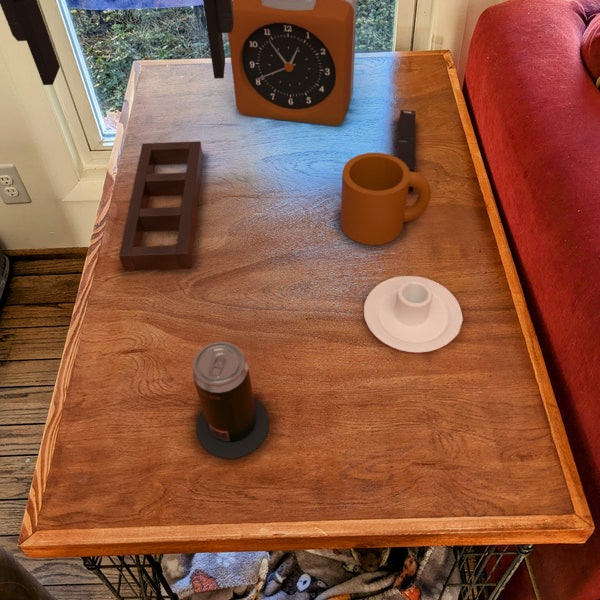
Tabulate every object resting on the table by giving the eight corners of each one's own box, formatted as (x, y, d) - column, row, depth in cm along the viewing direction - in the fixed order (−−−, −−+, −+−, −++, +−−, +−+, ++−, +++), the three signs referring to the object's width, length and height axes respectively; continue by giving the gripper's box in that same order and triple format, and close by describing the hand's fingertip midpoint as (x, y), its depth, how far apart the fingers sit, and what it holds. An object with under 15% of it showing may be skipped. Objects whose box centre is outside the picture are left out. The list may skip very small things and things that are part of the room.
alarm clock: (235, 116, 106) (221, -7, 90) (250, 87, 111) (238, -34, 95) (343, 129, 103) (348, 4, 87) (353, 98, 108) (358, -24, 92)
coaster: (217, 473, 66) (217, 471, 65) (184, 416, 70) (183, 414, 70) (282, 435, 68) (282, 433, 68) (246, 382, 73) (246, 380, 72)
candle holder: (480, 331, 76) (488, 308, 73) (398, 371, 73) (402, 350, 70) (423, 267, 83) (428, 244, 80) (345, 301, 80) (346, 279, 76)
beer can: (248, 450, 67) (237, 392, 57) (201, 439, 68) (182, 380, 58) (262, 407, 70) (254, 345, 61) (217, 397, 71) (201, 335, 62)
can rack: (124, 271, 84) (118, 255, 82) (146, 159, 99) (142, 143, 97) (191, 268, 84) (187, 253, 82) (203, 156, 99) (200, 141, 97)
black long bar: (412, 195, 92) (415, 179, 90) (395, 194, 92) (397, 178, 90) (414, 123, 103) (416, 107, 101) (398, 122, 103) (400, 106, 101)
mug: (425, 250, 85) (435, 200, 78) (337, 243, 86) (339, 193, 79) (426, 205, 91) (435, 155, 84) (343, 199, 92) (345, 149, 85)
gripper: (275, -303, 37) (289, 42, 53) (-152, -287, 37) (-6, 53, 53) (276, -278, 32) (290, 92, 48) (-215, -260, 32) (-33, 105, 48)
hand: (136, 73), depth 51 cm, fingers open, 13 cm apart
